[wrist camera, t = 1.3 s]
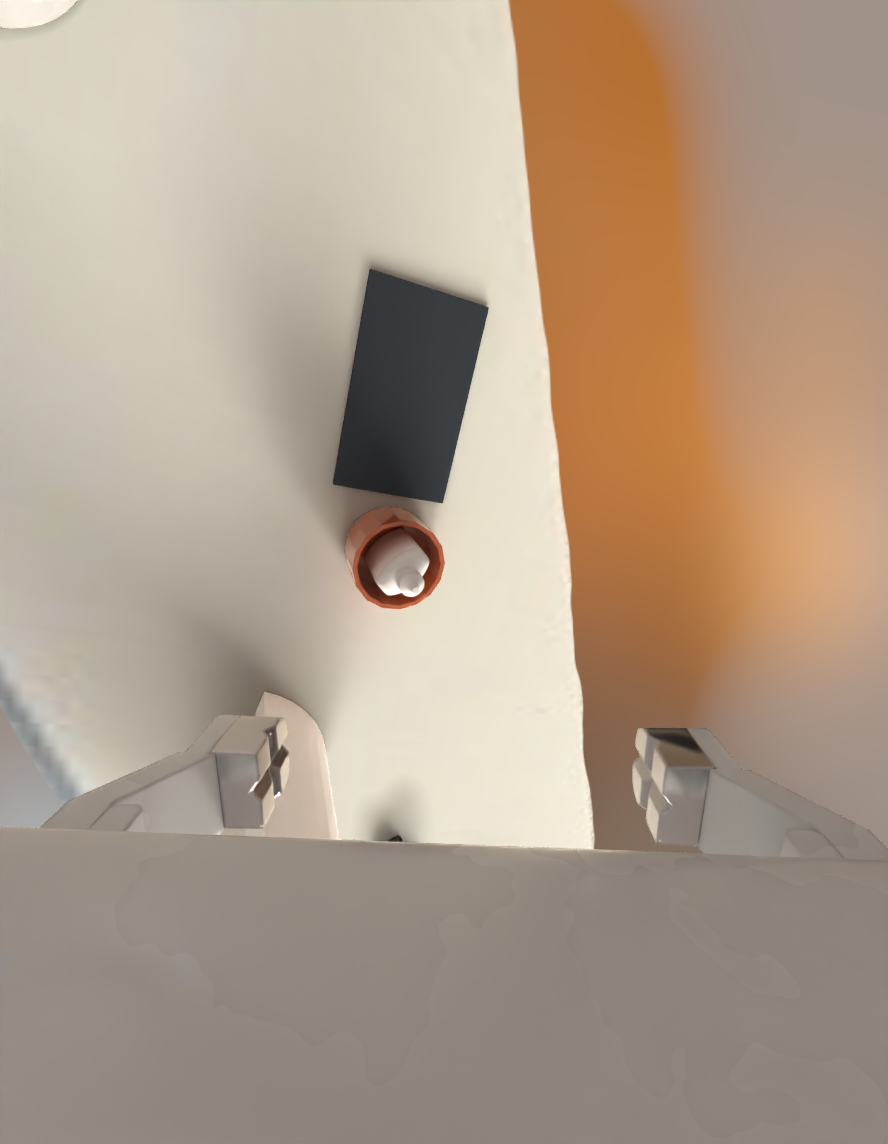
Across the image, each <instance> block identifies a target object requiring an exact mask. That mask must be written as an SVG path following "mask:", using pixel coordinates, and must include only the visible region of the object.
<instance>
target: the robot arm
mask: <svg viewBox="0 0 888 1144" xmlns="http://www.w3.org/2000/svg"><path fill="white" fill-rule="evenodd" d="M77 1H78V0H0V28H11V29H21V28H31V27H36V26H40V25H43V24H46V23H49V22H51V21H53V20H55V19H57V18H58V17H60V16H62V15H63V14H64V13H66V12H67V11H68V10H69V9H70V8H71V7H72V6H73V5H74V4H75V3H76V2H77ZM287 735H288V733H287V724H286V721H285V719H284V718H282V717H261V716H241V715H220V716H217V717H216V718H215V719H214V720H213V722H212V723H211V724H210V725H209V726H208V727H207V728H206V729H205V730H204V732H203V733H202V734H201V735H200V736H199V737H198V738H197V739H196V741H195V742H194V743H193V744H192V745H191V746H190V747H189V748H188V749H187V751H186V752H178V753H175V754H173V755H171V756H169V757H166V758H164V759H162V760H160V761H157V762H155V763H153V764H151V765H148V766H146V767H144V768H142V769H139V770H137V771H135V772H133V773H130V774H128V775H126V776H123V777H121V778H119V779H117V780H114V781H112V782H110V783H108V784H105V785H103V786H101V787H99V788H96V789H94V790H92V791H90V792H87V793H85V794H83V795H81V796H78V797H76V798H74V799H72V800H69V801H68V802H67V803H66V804H65V805H64V806H63V807H61V808H60V809H59V810H58V811H57V812H56V813H55V814H54V815H53V816H52V817H51V818H49V819H48V820H47V821H46V822H45V823H44V824H43V825H42V826H41V827H40V828H23V827H0V1144H888V848H887V847H886V846H885V845H884V844H883V843H882V842H881V841H880V840H879V839H878V838H877V837H876V836H875V835H874V834H873V833H872V832H871V831H870V830H868V829H866V828H864V827H862V826H860V825H858V824H856V823H854V822H852V821H850V820H848V819H846V818H844V817H842V816H840V815H838V814H836V813H834V812H832V811H830V810H828V809H826V808H824V807H822V806H820V805H818V804H816V803H814V802H813V801H811V800H808V799H807V798H805V797H802V796H801V795H799V794H797V793H794V792H792V791H791V790H789V789H787V788H784V787H783V786H780V785H779V784H777V783H775V782H773V781H771V780H769V779H767V778H765V777H763V776H761V775H759V774H757V773H755V772H752V771H751V770H743V769H742V768H741V767H740V765H739V764H738V763H737V762H736V761H735V760H734V758H733V757H732V756H731V754H730V753H729V752H728V751H727V750H726V748H725V747H724V746H723V745H722V743H721V742H720V741H719V740H718V739H717V737H716V736H715V735H714V734H713V733H712V731H711V730H709V729H707V728H639V729H638V732H637V735H636V743H635V746H636V748H637V750H638V752H639V753H640V756H639V757H638V758H637V759H636V760H635V761H634V762H633V774H632V778H633V789H634V793H635V797H636V799H637V802H638V804H639V806H640V807H641V808H643V809H644V810H645V811H647V816H646V822H647V824H648V826H649V829H650V830H651V833H652V835H653V837H654V839H655V841H656V843H657V844H670V845H686V846H699V847H698V848H699V849H700V850H701V851H702V852H704V853H705V854H702V853H676V852H649V851H623V850H597V849H595V850H594V849H571V848H544V847H518V846H492V845H466V844H440V843H414V842H388V841H362V840H336V839H310V838H284V837H258V836H231V835H219V834H220V833H221V832H223V831H224V828H237V829H263V828H264V826H265V825H266V823H267V821H268V819H269V817H270V815H271V813H272V811H273V809H274V808H275V806H274V798H276V797H277V796H279V795H280V794H282V792H283V790H284V788H285V786H286V783H287V779H288V775H289V765H290V758H289V751H288V750H287V749H286V748H285V746H284V745H283V742H284V740H285V739H286V737H287Z"/></svg>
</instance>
